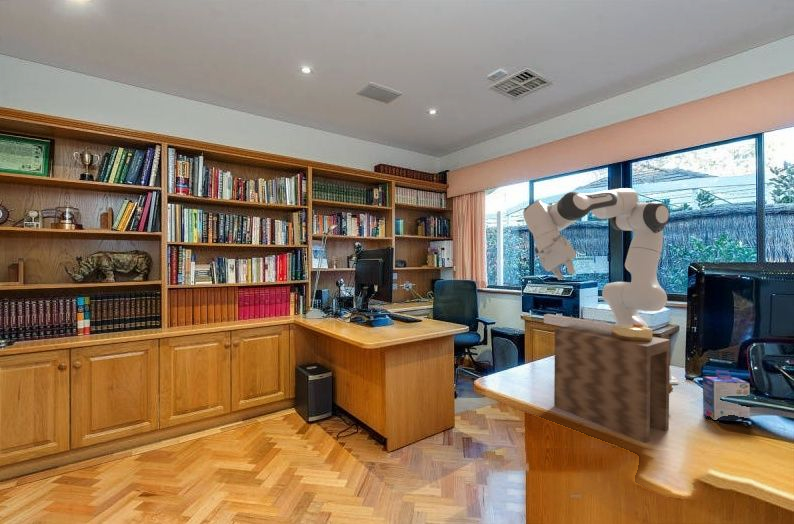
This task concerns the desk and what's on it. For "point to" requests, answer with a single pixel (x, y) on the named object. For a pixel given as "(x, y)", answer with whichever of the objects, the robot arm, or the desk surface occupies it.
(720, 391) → the ink cartridge box
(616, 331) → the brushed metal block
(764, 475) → the desk surface
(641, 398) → the chevron wooden end table
